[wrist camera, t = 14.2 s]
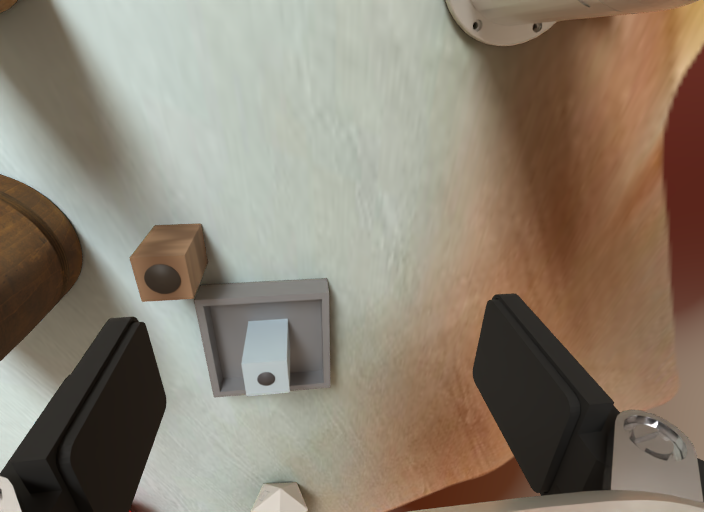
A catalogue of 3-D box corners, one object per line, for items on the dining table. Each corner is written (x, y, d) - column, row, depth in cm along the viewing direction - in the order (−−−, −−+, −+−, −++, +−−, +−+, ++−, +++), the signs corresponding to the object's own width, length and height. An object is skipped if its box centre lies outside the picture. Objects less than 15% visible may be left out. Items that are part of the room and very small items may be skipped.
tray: (327, 278, 45) (329, 292, 43) (328, 370, 52) (330, 387, 49) (200, 285, 44) (193, 300, 41) (218, 379, 50) (213, 397, 47)
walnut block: (201, 223, 40) (184, 255, 34) (208, 262, 43) (193, 299, 36) (154, 225, 40) (129, 258, 34) (164, 264, 42) (141, 302, 36)
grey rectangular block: (287, 318, 46) (286, 360, 40) (290, 348, 48) (289, 393, 42) (248, 321, 46) (241, 364, 39) (252, 351, 48) (246, 397, 42)
